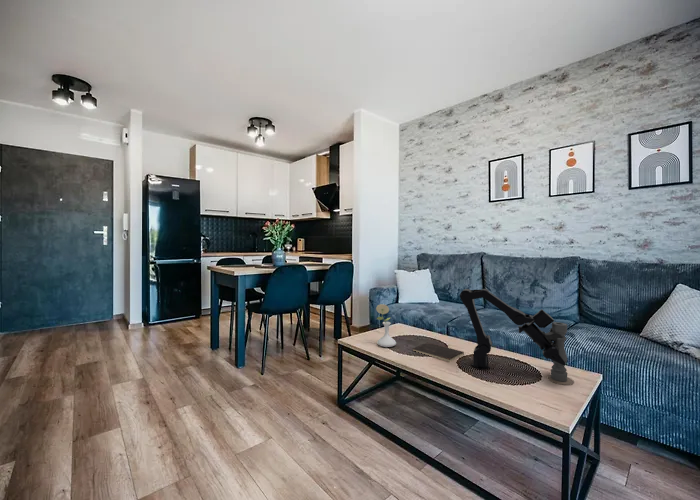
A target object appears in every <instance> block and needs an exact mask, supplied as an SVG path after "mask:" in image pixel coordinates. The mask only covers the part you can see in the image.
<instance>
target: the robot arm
mask: <svg viewBox="0 0 700 500" xmlns="http://www.w3.org/2000/svg"><path fill="white" fill-rule="evenodd" d="M459 299H460V301H461V302H462V304H463V306H464V307H465V308H466V310H467V313H468V315H469V318H470V322H471V324H472V326H473V329H474V332H475V335H476V344H477V345H476V346H474V350H473V361H472V363H471V364H470V365H471V366H472V367H474V368H475V369H478V370H480V371H481V370H486V369H491V366H490V365H489V356H488V355H489V354H490V353H491V350H492V346H493V341H492V339H491V335H489V334H488V335H487V334H486V332H485V330H484V328H483V324H482V322H481V319H480V317H479V314H478V310H477V309H476V302H475V300H477V299H478V300H479V299H485V300H486V301H487V302H489V303H490V304H492V305H493V306H494V307H496V308H497V309H499V310H500V311H501V312H503V313H504V314H505V315H506V316H507V318H509V319H510V321H512V322H513V323H514V324H515V325H517V326H518V333H519V334H521V333H522V332H524V333H525V334H526V335H527V336H528V337H529V338H530V339H531V340H532V342H533V343H535V344H536V345H537V346H538V347H539V349H540V350H541V351H542V356H543V357H544V358H545V359H547V360H548V359H549V360H551V361H552V360H553V361H556V362H558V363H560V364H562V365H565V366H566V365H567V362H566V363H565V362H564V360H563V359H562V357H561V356H560V355H559V349H558V348H557V347H556V346H555V345H554V341H555V340H557V338H563V336H561V335H560V334H557V333H553V330H552V327H551V328H549V331H548V332H545V331H544V330H541V329H545V328H547V327H548V326H549V325H552V322H555V319H554V318H553V317H552V316H551V315H550V314H549V313H547V312H546V311H545V310H543V309H542V308H541V309H540V310H539V311H538V312H537V313H535V314H534V315H532V314H527V313H525V312H524V311H522V310H520V309H518V308H515V307H513V306H511V305H509V304H508V303H506V302H505V301H503V300H502V299H500V298H499V297H497V295H495V294H494V293H492V292H490V291H489V290H488V289H487V288H482V289H470V288H464V289H463V290H462V291H461V292H460V293H459ZM553 361H552V362H553Z"/></svg>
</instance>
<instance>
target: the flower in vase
mask: <svg viewBox="0 0 700 500" xmlns="http://www.w3.org/2000/svg"><path fill="white" fill-rule="evenodd" d="M375 310H376V312H377V313H378V314H380V315H382V316H377V317H376V320H377V321H382V320H383V322H382V325H383V326H384V335H383V336H382V337H380V338H379V339H378V340H377V341H376V342H377V345H378V346H381V347H383V348H384V347H385V348H388V347H389V348H390V347H394V346H396V345H397V342H396V340H395V338H392V336H391V335H390V333H389V330H390V325H391V322H390V321H389V320H390V319H391V318H392V316H391V317H387V318H386V319H384V316H383V315H386V314H388V313H389V311H390V308H389V306H388V305H387V304H383V303H380V304H377V306H376V308H375Z"/></svg>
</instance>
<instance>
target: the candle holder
mask: <svg viewBox="0 0 700 500" xmlns="http://www.w3.org/2000/svg"><path fill="white" fill-rule="evenodd" d="M551 328H552V330H553V333H557V334H560V335H561V336H563V338H557V340H555V341H554V345H555V346H556V347H557V348H558V349H559V355H560V356H561V357H562V359H563V360H564V362H565V363H566V364H567V362H568V356H567V352H566V349H565V342H566V341H567V337H566V334H567V333H568V324H567V323H565V322H558V321H554V322H552V323H551ZM551 361H552V363H553V364H552V366H551V369H550V375H551V379H553V380H555V381H559V382H566V381H567V377H568V370H567V368H566V365H562V364H560V363H558V362H556V361H553V360H551Z"/></svg>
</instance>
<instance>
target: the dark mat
mask: <svg viewBox="0 0 700 500" xmlns="http://www.w3.org/2000/svg"><path fill="white" fill-rule="evenodd" d="M546 378H547V380H548V381H550V382H551V383H554V384H558V385H562V386H573V385H574V384H575V381H574V380H573V379H572V378H570V377H568V376H567V381H566V382H559V381H555V380H553V379H551V374H548V375H547V376H546Z"/></svg>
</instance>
